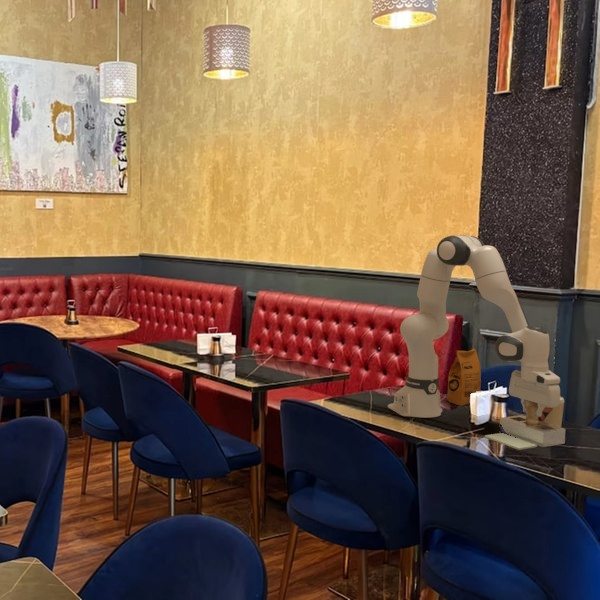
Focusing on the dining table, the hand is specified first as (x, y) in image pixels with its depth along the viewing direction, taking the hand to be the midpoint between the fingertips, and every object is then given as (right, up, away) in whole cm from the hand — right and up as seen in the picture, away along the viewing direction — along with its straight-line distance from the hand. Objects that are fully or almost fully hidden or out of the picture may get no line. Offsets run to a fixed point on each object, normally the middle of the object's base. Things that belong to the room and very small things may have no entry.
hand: (532, 414), depth 245 cm
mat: (-9, -9, -5) cm, 13 cm away
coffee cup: (+9, -8, +10) cm, 15 cm away
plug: (0, -8, +1) cm, 8 cm away
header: (0, -8, +1) cm, 8 cm away
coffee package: (-12, -4, +51) cm, 52 cm away
